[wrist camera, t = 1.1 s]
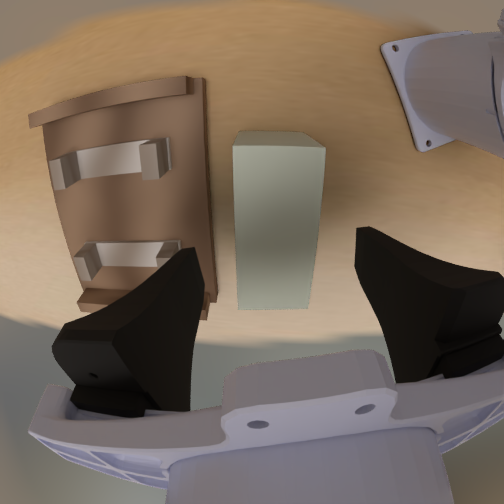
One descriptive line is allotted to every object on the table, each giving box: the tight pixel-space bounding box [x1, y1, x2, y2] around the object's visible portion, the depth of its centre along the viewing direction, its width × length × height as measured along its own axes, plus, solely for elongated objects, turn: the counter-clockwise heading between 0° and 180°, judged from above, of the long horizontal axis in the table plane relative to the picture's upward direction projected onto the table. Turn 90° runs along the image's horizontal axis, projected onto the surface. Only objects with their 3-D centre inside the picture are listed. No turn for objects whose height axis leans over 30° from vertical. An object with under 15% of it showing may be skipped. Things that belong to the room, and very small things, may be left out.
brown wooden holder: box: [28, 76, 218, 320], centre depth 17 cm, size 12×16×4 cm
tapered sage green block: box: [233, 131, 326, 310], centre depth 16 cm, size 4×9×6 cm, turn 0°
